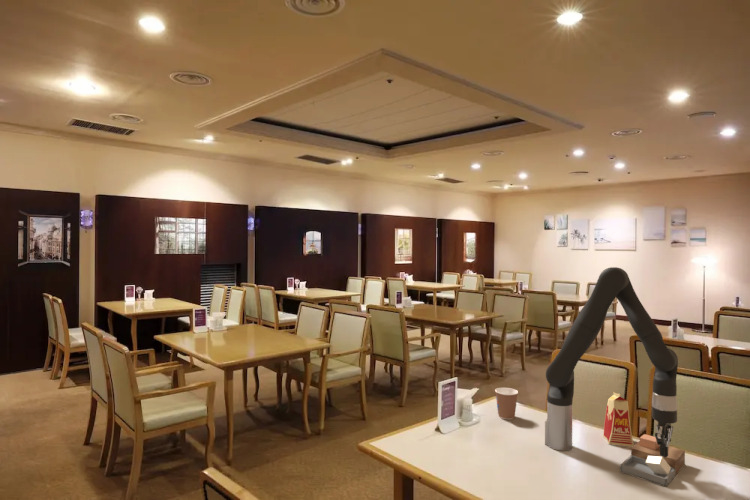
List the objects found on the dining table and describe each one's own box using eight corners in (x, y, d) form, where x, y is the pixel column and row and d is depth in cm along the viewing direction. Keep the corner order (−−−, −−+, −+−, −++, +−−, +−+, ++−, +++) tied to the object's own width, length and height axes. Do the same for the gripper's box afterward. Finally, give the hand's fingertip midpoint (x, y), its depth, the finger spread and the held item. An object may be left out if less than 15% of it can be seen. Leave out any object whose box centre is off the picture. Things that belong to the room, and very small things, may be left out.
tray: (620, 471, 162) (620, 464, 162) (631, 461, 170) (631, 455, 170) (666, 486, 152) (666, 479, 152) (675, 475, 160) (675, 468, 160)
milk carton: (634, 446, 183) (634, 396, 182) (608, 444, 184) (609, 394, 184) (626, 437, 192) (626, 389, 191) (602, 435, 193) (602, 387, 193)
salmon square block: (639, 445, 172) (639, 437, 172) (644, 441, 175) (644, 434, 175) (655, 450, 168) (655, 441, 168) (659, 446, 172) (659, 438, 171)
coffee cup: (499, 411, 221) (499, 386, 221) (521, 415, 216) (521, 390, 215) (491, 417, 213) (491, 391, 213) (513, 422, 207) (513, 395, 207)
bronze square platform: (631, 461, 170) (631, 448, 170) (641, 451, 178) (642, 438, 178) (675, 475, 160) (675, 461, 160) (684, 464, 168) (684, 450, 168)
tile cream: (656, 466, 162) (654, 473, 160) (648, 455, 161) (645, 462, 160) (670, 467, 157) (668, 474, 156) (662, 456, 157) (659, 463, 155)
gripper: (658, 399, 169) (657, 447, 169) (646, 408, 160) (646, 458, 160) (682, 404, 164) (681, 453, 164) (671, 413, 155) (671, 465, 155)
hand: (664, 455), depth 162 cm, fingers closed
